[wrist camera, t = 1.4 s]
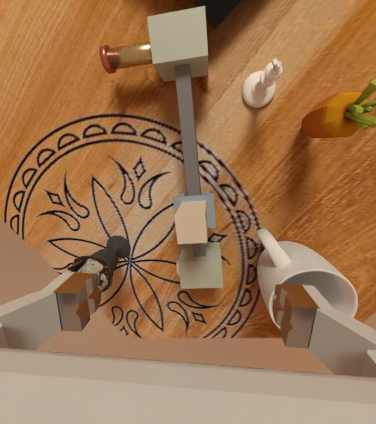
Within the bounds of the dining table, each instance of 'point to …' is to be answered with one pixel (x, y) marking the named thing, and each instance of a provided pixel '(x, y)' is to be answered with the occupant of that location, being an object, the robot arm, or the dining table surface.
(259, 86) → the chess piece
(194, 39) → the guide rail
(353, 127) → the carrot
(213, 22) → the lantern
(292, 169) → the dining table surface
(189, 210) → the carriage
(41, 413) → the robot arm
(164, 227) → the dining table surface
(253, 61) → the dining table surface
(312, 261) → the mug
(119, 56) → the cylinder
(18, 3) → the dining table surface
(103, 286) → the sundae
